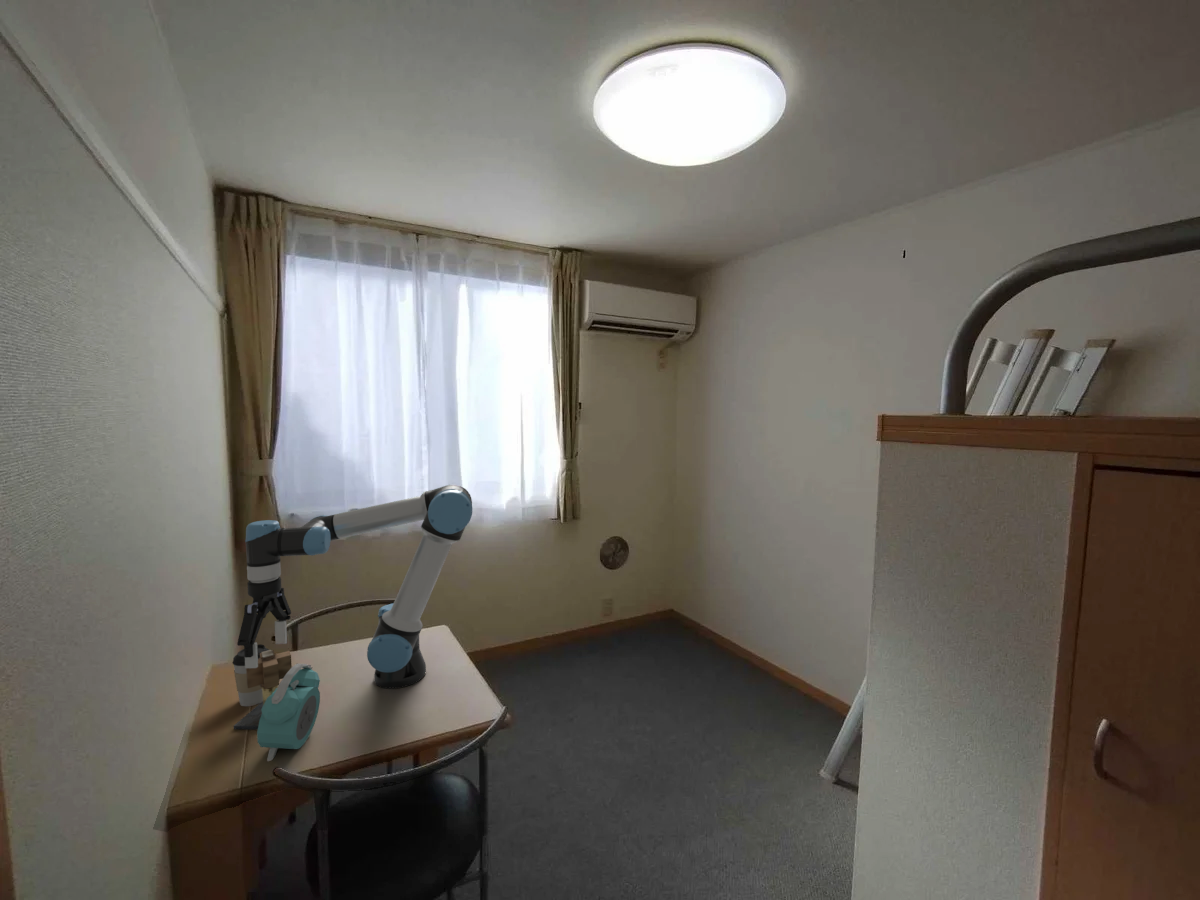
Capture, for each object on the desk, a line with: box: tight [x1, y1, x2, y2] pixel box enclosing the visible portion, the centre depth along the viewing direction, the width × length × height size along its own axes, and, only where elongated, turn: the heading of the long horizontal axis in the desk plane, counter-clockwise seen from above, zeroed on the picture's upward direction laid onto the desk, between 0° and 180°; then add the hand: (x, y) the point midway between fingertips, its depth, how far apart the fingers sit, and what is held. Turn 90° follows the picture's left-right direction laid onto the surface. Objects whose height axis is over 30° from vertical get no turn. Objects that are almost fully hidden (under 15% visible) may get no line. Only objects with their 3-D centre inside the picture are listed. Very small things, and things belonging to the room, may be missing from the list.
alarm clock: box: [256, 663, 321, 762], centre depth 124 cm, size 17×10×20 cm, turn 5°
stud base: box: [232, 685, 279, 731], centre depth 136 cm, size 12×12×9 cm
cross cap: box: [246, 649, 293, 689], centre depth 135 cm, size 10×10×7 cm
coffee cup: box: [232, 643, 270, 707], centre depth 143 cm, size 9×9×15 cm
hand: (267, 655), depth 135 cm, fingers open, 13 cm apart
